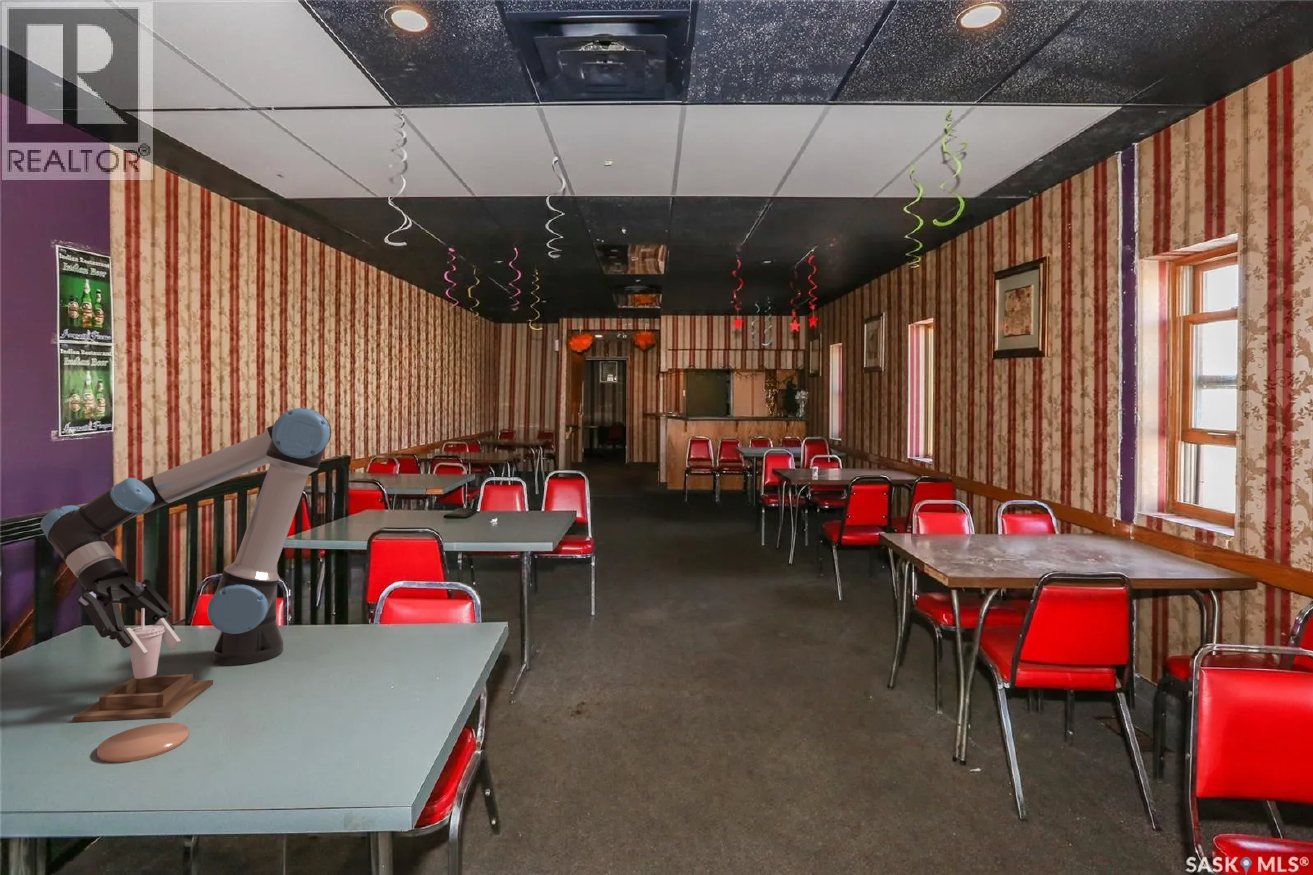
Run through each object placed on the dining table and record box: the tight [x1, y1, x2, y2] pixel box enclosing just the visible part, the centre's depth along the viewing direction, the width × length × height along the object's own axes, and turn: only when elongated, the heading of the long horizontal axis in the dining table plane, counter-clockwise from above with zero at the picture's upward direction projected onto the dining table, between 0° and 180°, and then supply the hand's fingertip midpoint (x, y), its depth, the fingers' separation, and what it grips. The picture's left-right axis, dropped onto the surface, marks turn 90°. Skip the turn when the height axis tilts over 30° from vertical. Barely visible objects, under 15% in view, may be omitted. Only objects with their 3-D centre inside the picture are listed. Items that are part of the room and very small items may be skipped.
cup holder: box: [72, 673, 214, 723], centre depth 135 cm, size 17×17×4 cm
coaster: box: [96, 722, 190, 763], centre depth 117 cm, size 13×13×1 cm
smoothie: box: [129, 608, 165, 679], centre depth 134 cm, size 6×6×14 cm
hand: (159, 650), depth 133 cm, fingers closed on smoothie, 6 cm apart
